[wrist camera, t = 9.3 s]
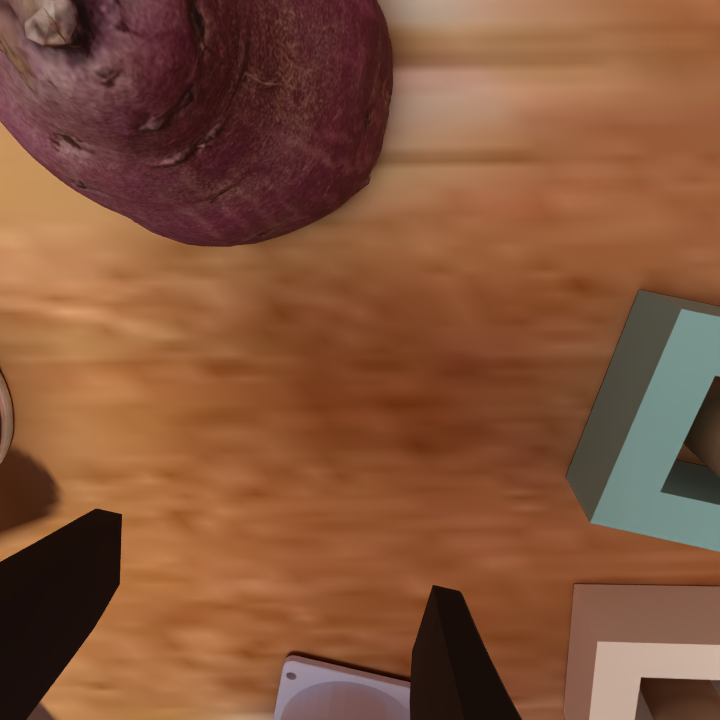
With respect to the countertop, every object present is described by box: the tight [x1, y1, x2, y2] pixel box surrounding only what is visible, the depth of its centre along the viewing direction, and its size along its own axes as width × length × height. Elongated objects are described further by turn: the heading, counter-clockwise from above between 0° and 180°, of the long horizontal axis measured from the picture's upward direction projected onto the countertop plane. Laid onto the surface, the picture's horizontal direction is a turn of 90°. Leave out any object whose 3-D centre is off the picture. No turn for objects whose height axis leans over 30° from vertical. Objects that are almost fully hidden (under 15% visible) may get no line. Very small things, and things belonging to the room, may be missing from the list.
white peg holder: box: [563, 584, 720, 720], centre depth 22 cm, size 8×8×3 cm
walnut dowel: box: [639, 677, 720, 720], centre depth 20 cm, size 3×3×6 cm
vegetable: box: [0, 0, 393, 247], centre depth 11 cm, size 10×10×15 cm
